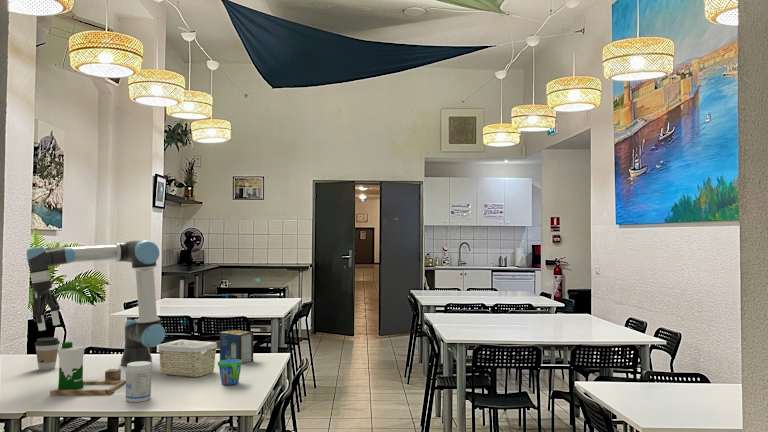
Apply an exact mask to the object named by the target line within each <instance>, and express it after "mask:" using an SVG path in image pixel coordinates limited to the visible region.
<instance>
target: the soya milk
mask: <svg viewBox="0 0 768 432" xmlns="http://www.w3.org/2000/svg"><path fill="white" fill-rule="evenodd" d="M85 349H86V346H81V345H76V346H75V345H73V342H72V341H66V342H62V343H61V347H60V348H59V347H58V349H57V350H58V353H57V356H58V385H57V390H81V389H82V388H84V385H83V380H84V374H83V373H84V356H85V355H84V354H85Z"/></svg>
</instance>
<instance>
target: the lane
mask: <svg viewBox="0 0 768 432" xmlns="http://www.w3.org/2000/svg"><path fill="white" fill-rule="evenodd" d="M85 385H86V386H90V385H91V386H93V385H96V386H97V385H101V386H102V385H113V386H112V387H109V388H108V389H107V388H105V389H102V388H101V389H100V388H99V389H95V388H94V389H90V388H89V389H77V390H58V389H51V390H49V396H52V397H53V396H54V397H55V396H60V397H61V396H111V395H113V394H115V391H117V390H119V389H120V388H121V387H122V386H125V385H126V380H124V381H104V380H98V381H83V386H85ZM106 394H107V395H106Z"/></svg>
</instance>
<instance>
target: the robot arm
mask: <svg viewBox="0 0 768 432" xmlns="http://www.w3.org/2000/svg"><path fill="white" fill-rule="evenodd" d="M159 258H160V248H159V246H158V245H157V244H156V243H155V242H153V241H151V240H145V239H144V240H131V241H130V240H129V241H125V242H115V243H114V244H112V245H111V244H109V245H90V246H67V247H46V248H45V246H37V247H31V248H28V249H26V260H27V263H28V270H29V278H30V279H31V282H32V284H31V286H32V291H33V292H36V293H33V295H32V297H33V303H32V317H33V318H34V317H35V319H36V324H37V327H38V332H39V331H40V332H42V331H46V330H47V328H46V322H45V318H44V315H43V312H44V311H43V310H44V307H45V303H46V304H47V306H48V307H49V309H50V315H51V319H52V325H53V326H58V325H59V326H60V325H61V322H60V318H59V317H60V316H59V311H60V309H61V308H60V306H61V305H60V304H59V302H58V301H57V297H56V295H55V293H54V289H52V288H53V286H52V280H51V275H50V269H49V268H50V267H53V266H59V265H60V266H61V265H67V264H71V263H81V262H82V263H83V262H84V263H86V262H98V261H99V262H100V261H101V262H102V261H115V262H117V263H118V262H120V263H121V262H123V263H124V262H127V263H131V268H132V269H133V270H134V271H135V279H136V280H135V281H136V292H137V293H136V295H137V308H138V318H137V319H129V320H126V321H125V323H124V351H123V353H122V356H121V360H120V365H121V366H124V367H125V366H126V367H127V364H128V363H131V362H138V361H147V362H151V364H152V362H153V357H152V354H151V351H150V348H154V347H157V346H159V345H160V344H162V342H163V341H164V339H165V336H166V331H165V328H164V327H163V325H162V323H161V317H159V316H158V315H157V314H158V313H157V312H158V311H157V299H156V286H155V272H154V270H155V268H156V267H157V261H158V259H159Z"/></svg>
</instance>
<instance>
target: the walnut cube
mask: <svg viewBox="0 0 768 432" xmlns="http://www.w3.org/2000/svg"><path fill="white" fill-rule="evenodd" d="M121 373H122V370H121V368H108V369H107V370H105V371H104V380H105V381H120V380H122V379H121V378H122V377H121Z"/></svg>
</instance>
